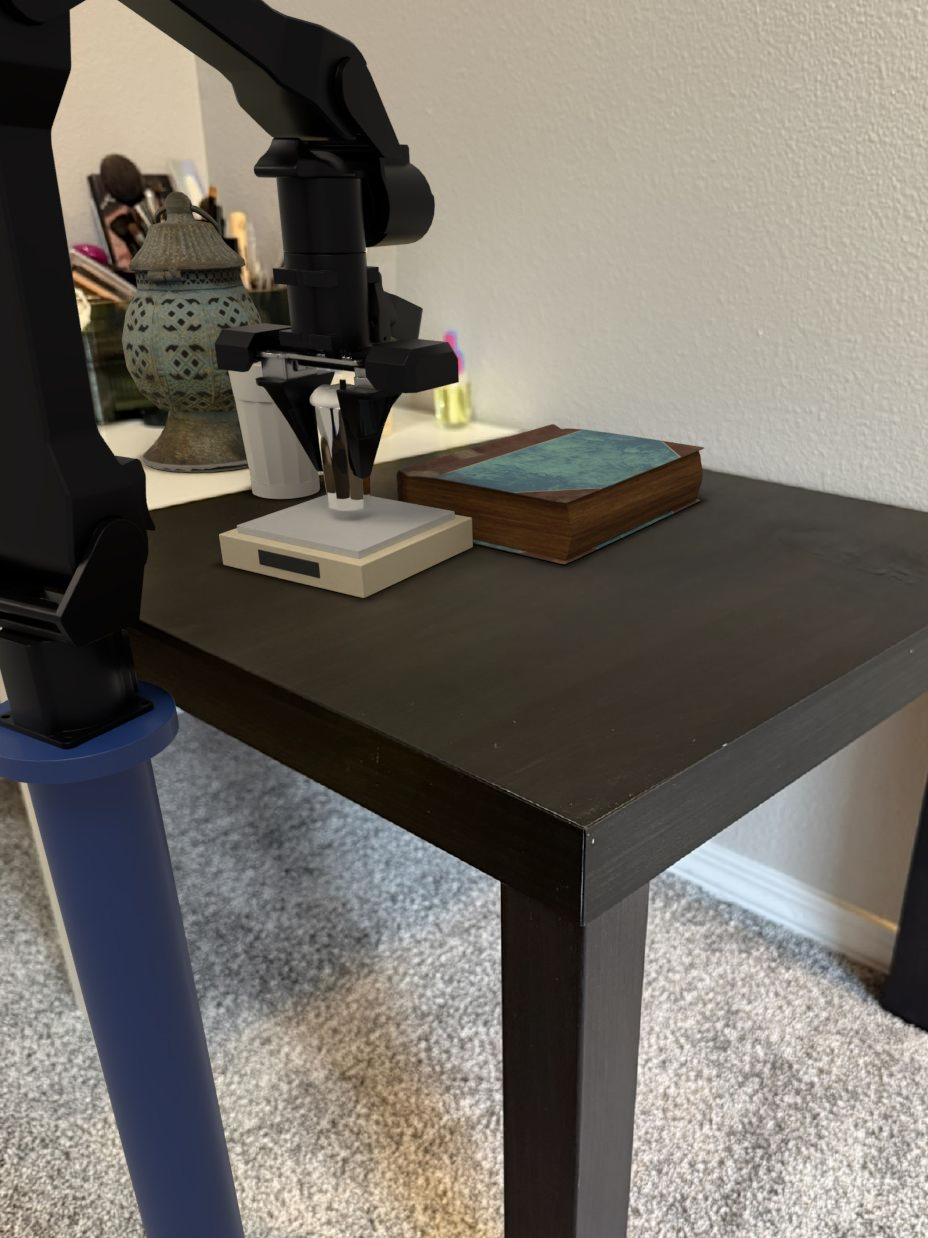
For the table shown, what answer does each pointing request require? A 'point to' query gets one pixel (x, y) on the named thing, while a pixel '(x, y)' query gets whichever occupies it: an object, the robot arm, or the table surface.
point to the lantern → (187, 338)
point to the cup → (270, 442)
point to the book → (558, 489)
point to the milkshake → (337, 452)
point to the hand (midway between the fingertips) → (343, 474)
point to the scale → (347, 544)
